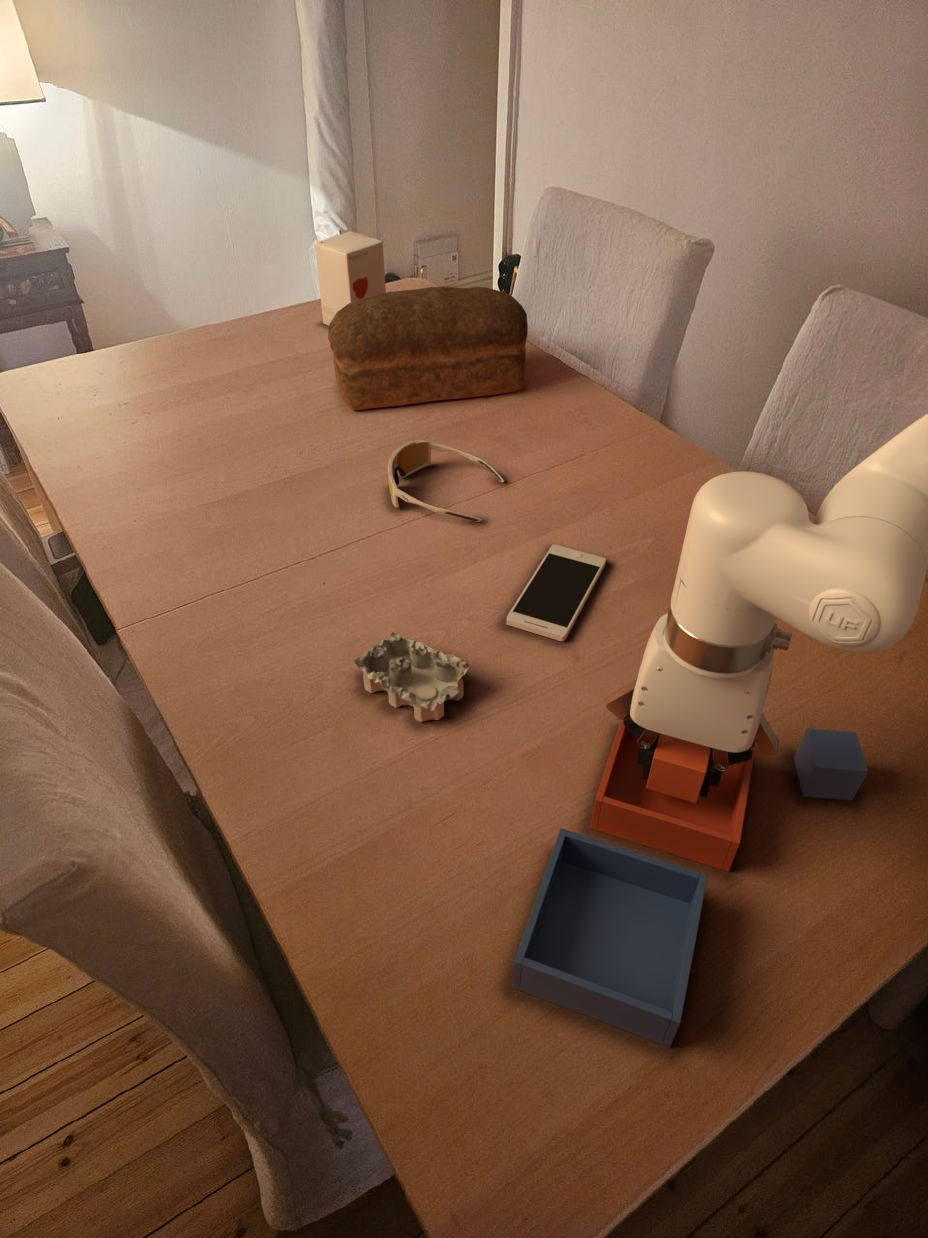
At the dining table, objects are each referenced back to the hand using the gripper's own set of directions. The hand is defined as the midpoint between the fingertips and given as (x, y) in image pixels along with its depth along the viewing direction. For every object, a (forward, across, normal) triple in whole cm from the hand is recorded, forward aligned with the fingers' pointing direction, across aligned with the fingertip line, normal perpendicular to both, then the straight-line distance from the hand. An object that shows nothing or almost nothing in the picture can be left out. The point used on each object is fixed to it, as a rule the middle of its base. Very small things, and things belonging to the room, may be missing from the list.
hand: (676, 774), depth 74 cm
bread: (+4, +53, -68) cm, 86 cm away
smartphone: (+3, +18, -24) cm, 30 cm away
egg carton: (+3, +28, -4) cm, 28 cm away
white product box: (+4, +76, -86) cm, 115 cm away
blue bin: (+3, +2, +16) cm, 16 cm away
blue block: (+3, -13, -7) cm, 15 cm away
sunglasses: (+4, +39, -39) cm, 55 cm away
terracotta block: (0, 0, 0) cm, 0 cm away
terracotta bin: (+3, 0, 0) cm, 3 cm away
